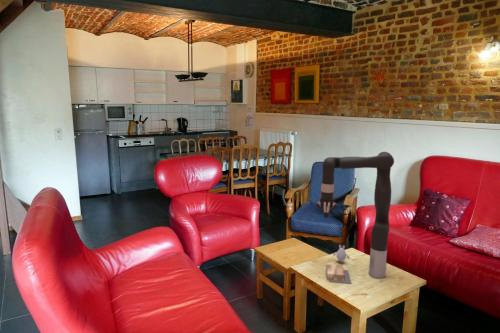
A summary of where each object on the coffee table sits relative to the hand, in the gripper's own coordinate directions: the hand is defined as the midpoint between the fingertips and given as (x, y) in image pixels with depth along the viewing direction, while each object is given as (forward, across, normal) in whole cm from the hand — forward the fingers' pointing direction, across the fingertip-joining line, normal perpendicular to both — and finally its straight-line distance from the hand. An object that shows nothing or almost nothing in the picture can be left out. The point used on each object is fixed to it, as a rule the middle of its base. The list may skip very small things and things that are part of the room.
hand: (325, 217), depth 220 cm
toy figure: (+33, -12, -9) cm, 36 cm away
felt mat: (+33, -9, +10) cm, 36 cm away
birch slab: (+31, -2, +10) cm, 32 cm away
